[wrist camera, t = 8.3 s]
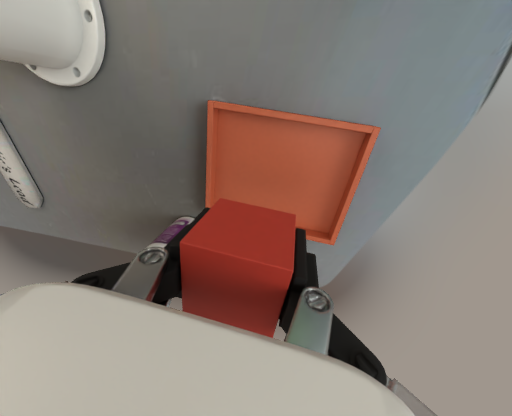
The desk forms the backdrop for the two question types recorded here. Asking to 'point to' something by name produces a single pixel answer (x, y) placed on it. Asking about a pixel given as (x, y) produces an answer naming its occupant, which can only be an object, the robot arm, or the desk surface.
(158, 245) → the pill bottle
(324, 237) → the orange tray
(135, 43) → the desk surface
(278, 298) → the red block
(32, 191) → the nameplate
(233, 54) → the desk surface
